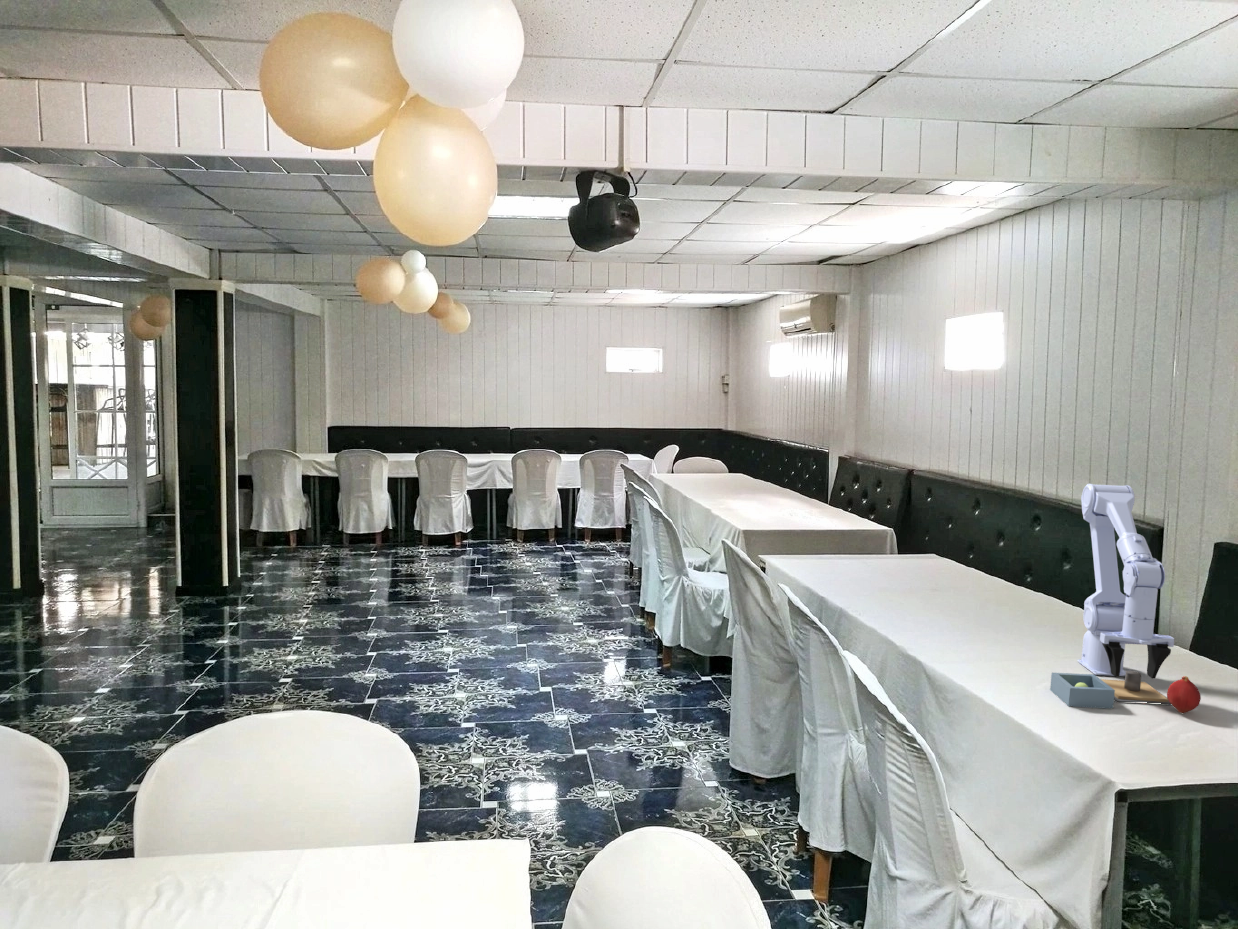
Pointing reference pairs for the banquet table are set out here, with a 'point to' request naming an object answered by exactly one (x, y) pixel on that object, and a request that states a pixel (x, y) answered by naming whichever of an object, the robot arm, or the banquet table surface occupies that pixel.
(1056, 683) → the blue-grey square box
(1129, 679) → the lid
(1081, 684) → the lime
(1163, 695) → the mat
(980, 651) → the banquet table surface
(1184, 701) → the pomegranate
